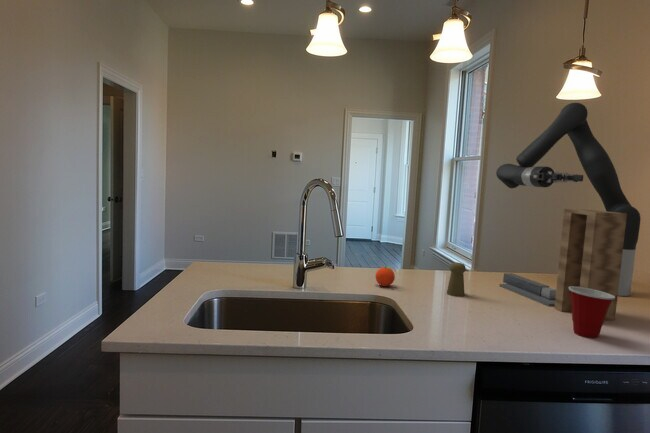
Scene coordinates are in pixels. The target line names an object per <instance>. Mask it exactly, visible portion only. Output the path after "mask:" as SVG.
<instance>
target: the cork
mask: <svg viewBox="0 0 650 433" xmlns="http://www.w3.org/2000/svg"><path fill="white" fill-rule="evenodd" d="M466 268H467V267H466V264H464V263H463V262H452V263H450V265H449V271H450V276H449V281H448V284H447V290H446V294H447V295H448V296H451V297H459V298H460V297H462V298H463V297H465V280H464V279H465V278H464V274H465V272H466Z"/></svg>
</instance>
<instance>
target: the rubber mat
mask: <svg viewBox="0 0 650 433" xmlns="http://www.w3.org/2000/svg"><path fill="white" fill-rule="evenodd" d="M499 287H501V288H503V289H506V290H507V291H511V292H513V293H516V294H518V295H521V296H523V297H525V298H528V299H530V300H533V301H535V302H537V303H539V304H542V305H544V306H547V307H555V299H548V298H545V297H543V296H538V295H535V294H532V293H530V292H527V291H525V290H522V289H519V288H517V287H514V286H512V285H509V284H507V283H499Z"/></svg>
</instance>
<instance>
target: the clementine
mask: <svg viewBox="0 0 650 433" xmlns="http://www.w3.org/2000/svg"><path fill="white" fill-rule="evenodd" d="M393 270H394V268H393V267H389V266H382V267H380V268H378V269H377V271H376V273H375V279H376V280H375V281H376V282H377V284H379V285H380V286H383V287H389V286H391V285H392V284H393V283H394V281H395V279H396V278H395V277H396V276H395V273H396V275H397V272H395V271H393Z"/></svg>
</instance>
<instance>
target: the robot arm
mask: <svg viewBox="0 0 650 433" xmlns="http://www.w3.org/2000/svg"><path fill="white" fill-rule="evenodd" d="M587 118H588V109H587V107H586V106H585V105H584V104H583V103H580V102H571V103H568V104H566V105H565V106H563V108H562V109H561V111H560V112H559V114H558V115H557V116H556V118H555V119H554V120H553V122H552V123H551V124H550V125H549V126H548V127H547V128H546V129H545V130H544V131H543V132H542V133H541V134H540V135H539V136H538V137H537V138H535V139H534V140H533V141H531V143H530V144H529V145H527V147H526V148H524V150H522V151H521V152H520V153H519V154H518V155H517V156H516V159H515V160H516V162H517V164H518V165H516V164H513V163H504V164H502V165H500V166H499V167H497V169H496V172H495V174H496V175H495V176H496V178H498V179H499V181H501V182H502V183H503V184H504V185H505V186H506V187H508V188H509V189H516V188H517V187H519V186H523V187H525V186H526V187H533V188H549V187H550V186H552V185H553V184H558V183H562V184H563V183H568V182H569V183H570V182H571V183H572V182H573V183H577V182H580V183H581V182H583V181H584V175H583V174H577V173H576V174H575V173H573V174H572V173H571V174H569V172H560V171H554V169H553V168H552V167H550V166H535V165H536V164H537V163H538V162H539V161H541V159H543V158H544V156H546V154H547V153H548V152H549V151H551V149H552V148H553V147H554V146H555V145H556V144H557V143H558V142H559V141H560V140H561V139H562V138H563V137H564V136H565V135H567V136H568V137H569V139H570V141H571V142H572V144H573V147H574V149H575V153H576V156H577V157H578V159H579V160H578V161H579V162H580V165H581V167H582V168H583V171H584V173H585V174H586V176H587V178H588V179H589V181H590V184H591V185H592V186H593V189H594V190H595V191H596V193H597V194H598V196H599V198H600V200H601V201H602V204H603V207H604V209H605V211H608V212H617V213H626V214H627V218H626V227H625V235H624V244H623V253H622V262H621V271H620V279H619V288H618V297H629V296H631V292H632V285H633V284H632V283H633V277H634V269H635V268H634V267H635V266H634V265H635V258H636V249H637V244H638V242H639V234H640V227H641V226H640V225H641V213H640V212H639V210H638V209H637V208H635V207H634V206H632V204H631V203H630V201H629V199H628V198H627V197H626V195H625V193H624V192H623V190H622V188H621V184H620V180H619V177H618V176H619V175H618V174H617V170H616V168H615V166H614V164H613V161H612V159H611V157H610V156H609V154H608V152H607V151H606V150H605V148H604V147H603V146H602V145H601V143H600V142H599V140H598V139H597V138H596V137H595V135H594V134H593V131H592V130H591V128H590V125H589V123H588V120H587Z"/></svg>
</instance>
